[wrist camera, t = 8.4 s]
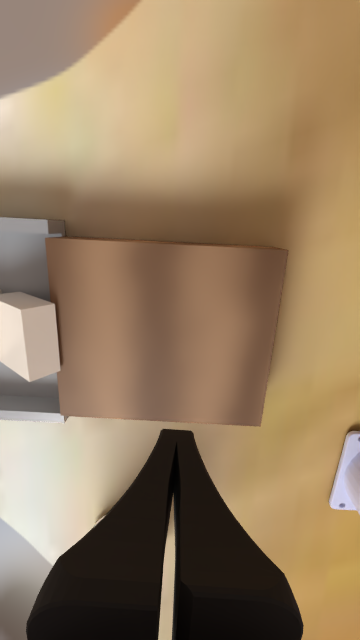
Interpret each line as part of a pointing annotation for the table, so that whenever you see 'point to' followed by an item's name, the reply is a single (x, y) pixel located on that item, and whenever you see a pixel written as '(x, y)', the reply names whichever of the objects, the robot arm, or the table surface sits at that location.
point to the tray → (32, 278)
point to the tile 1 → (28, 335)
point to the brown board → (164, 328)
